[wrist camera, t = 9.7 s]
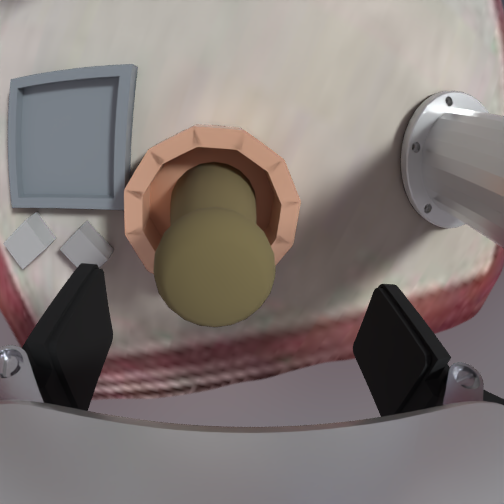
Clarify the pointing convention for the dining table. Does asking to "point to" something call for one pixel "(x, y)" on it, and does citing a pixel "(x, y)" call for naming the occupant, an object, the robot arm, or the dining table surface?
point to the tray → (71, 137)
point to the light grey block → (29, 240)
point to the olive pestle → (214, 249)
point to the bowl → (204, 151)
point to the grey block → (87, 247)
